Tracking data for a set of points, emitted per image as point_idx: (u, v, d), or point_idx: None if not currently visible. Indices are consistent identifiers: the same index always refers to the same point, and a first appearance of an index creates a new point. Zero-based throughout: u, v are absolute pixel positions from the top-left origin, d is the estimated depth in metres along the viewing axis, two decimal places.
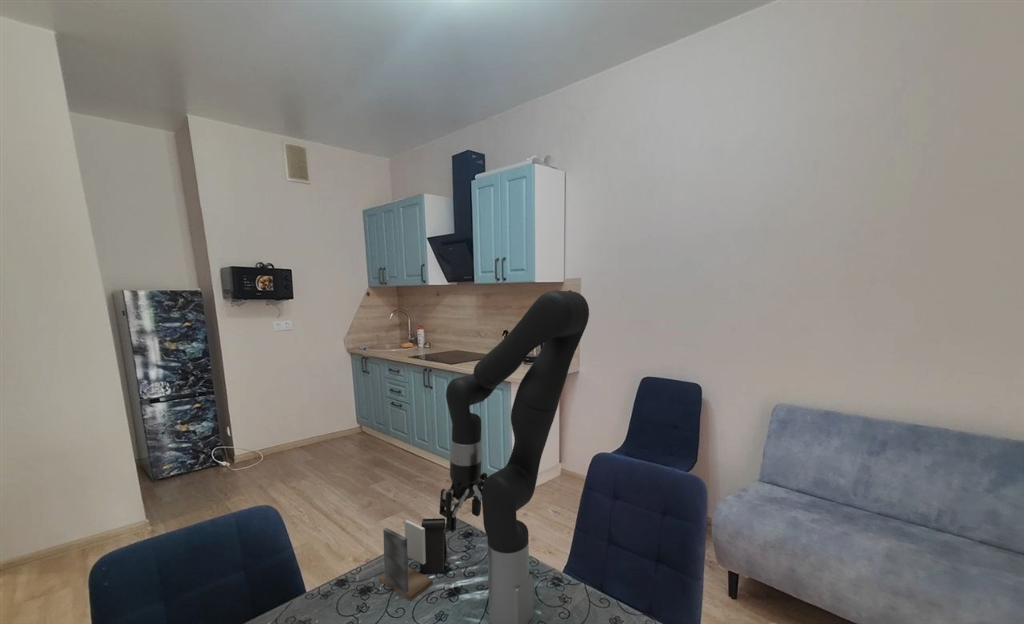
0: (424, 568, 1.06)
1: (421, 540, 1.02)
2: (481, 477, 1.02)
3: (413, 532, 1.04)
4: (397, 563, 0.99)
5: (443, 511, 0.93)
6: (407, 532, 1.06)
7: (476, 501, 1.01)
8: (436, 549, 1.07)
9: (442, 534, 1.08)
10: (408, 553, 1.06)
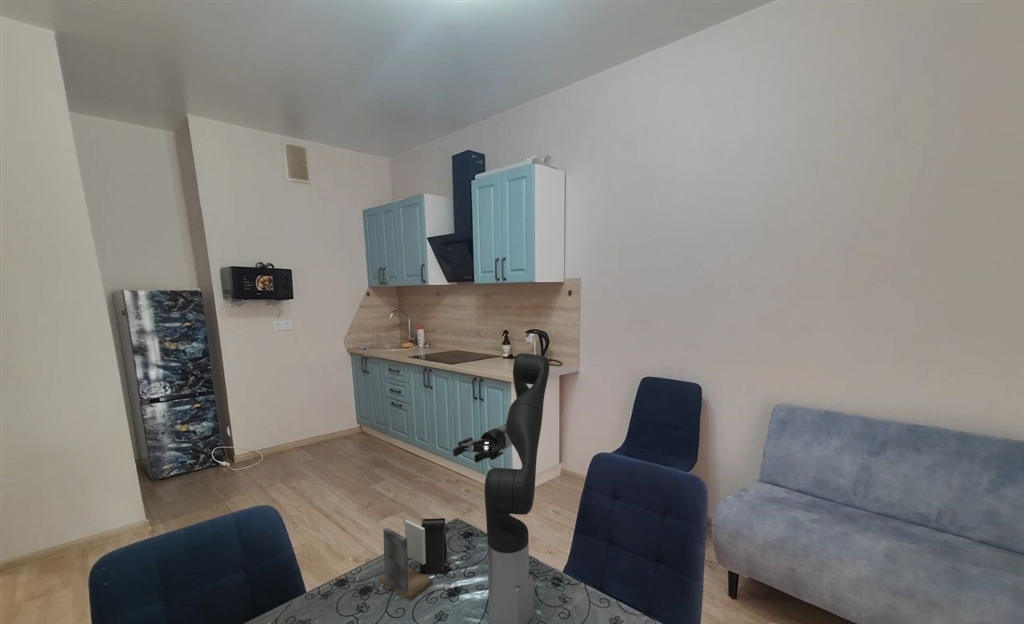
0: (424, 568, 1.06)
1: (421, 540, 1.02)
2: None
3: (413, 532, 1.04)
4: (397, 563, 0.99)
5: None
6: (407, 532, 1.06)
7: None
8: (436, 549, 1.07)
9: (442, 534, 1.08)
10: (408, 553, 1.06)
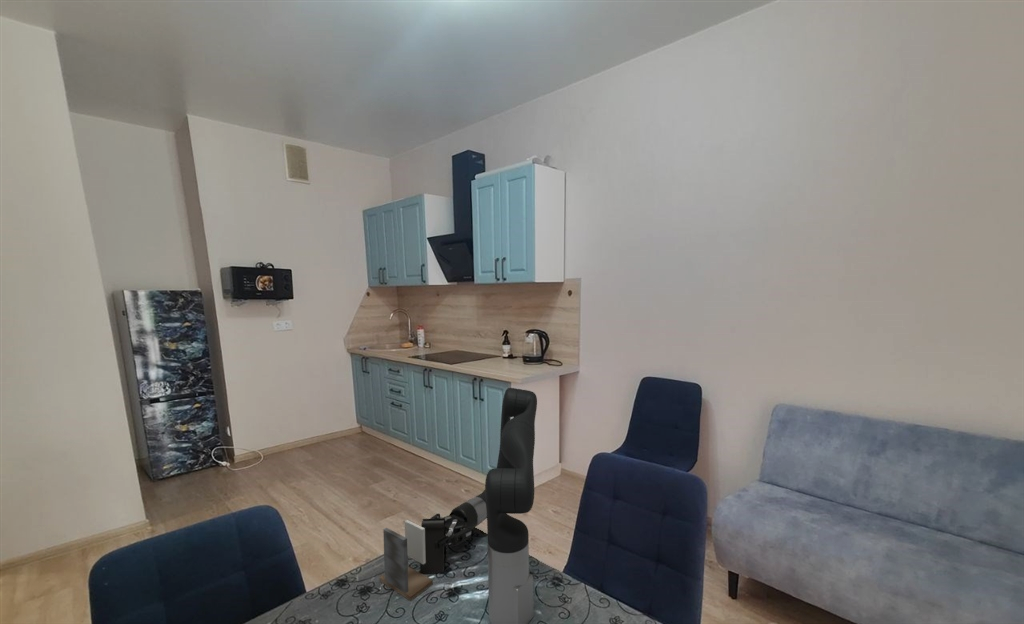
0: (424, 568, 1.06)
1: (421, 540, 1.02)
2: None
3: (413, 532, 1.04)
4: (397, 563, 0.99)
5: None
6: (407, 532, 1.06)
7: None
8: None
9: (442, 534, 1.08)
10: (408, 553, 1.06)
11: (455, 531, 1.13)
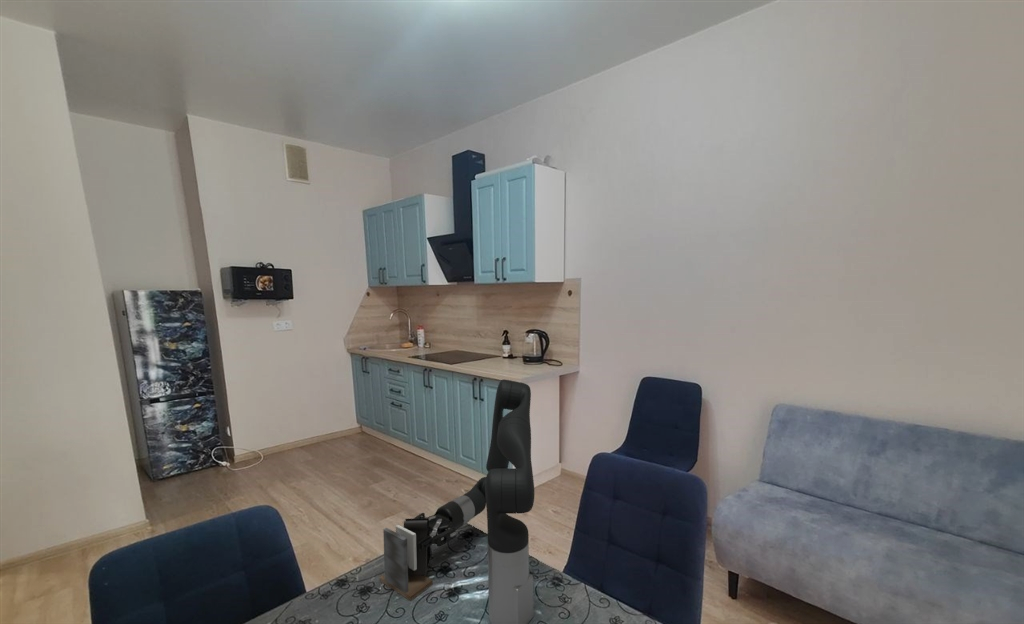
0: None
1: (412, 545, 1.00)
2: None
3: None
4: (397, 563, 0.99)
5: None
6: None
7: None
8: None
9: (425, 535, 1.04)
10: None
11: (439, 531, 1.08)
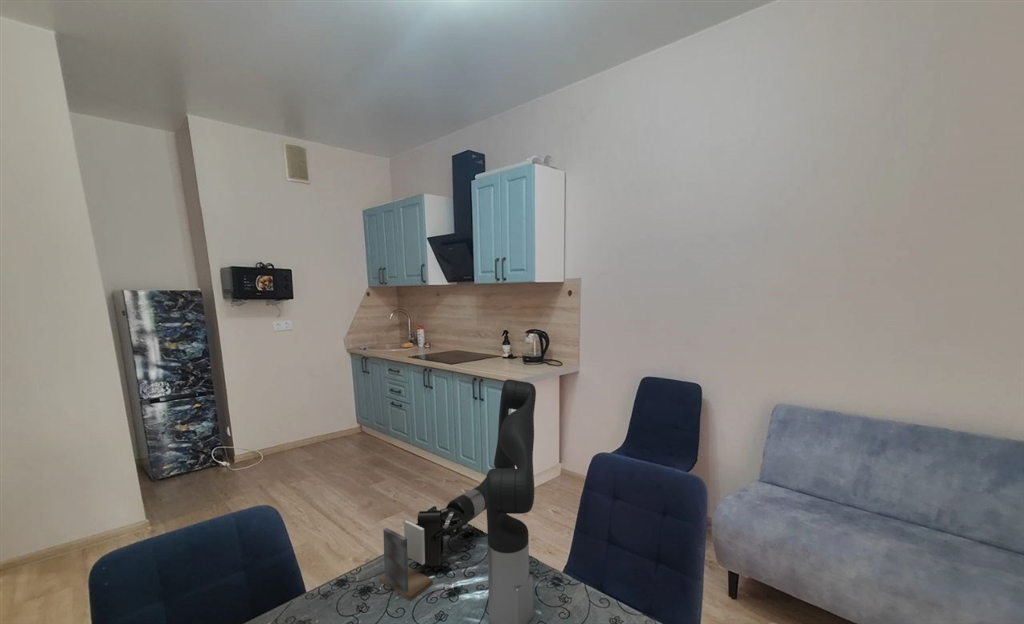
0: None
1: (421, 540, 1.02)
2: None
3: (412, 532, 1.04)
4: (397, 563, 0.99)
5: None
6: (407, 532, 1.05)
7: None
8: None
9: (438, 526, 1.07)
10: (407, 553, 1.06)
11: (452, 523, 1.12)
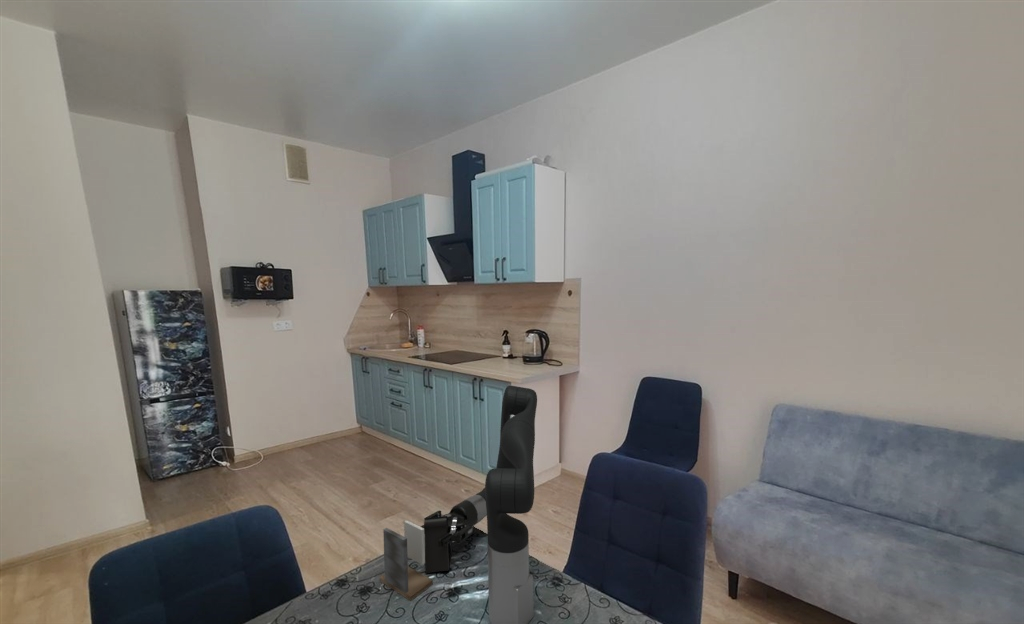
0: (429, 567, 1.06)
1: (421, 540, 1.02)
2: None
3: (412, 532, 1.04)
4: (397, 563, 0.99)
5: None
6: (407, 532, 1.05)
7: None
8: None
9: (445, 532, 1.09)
10: (407, 553, 1.06)
11: (456, 529, 1.13)
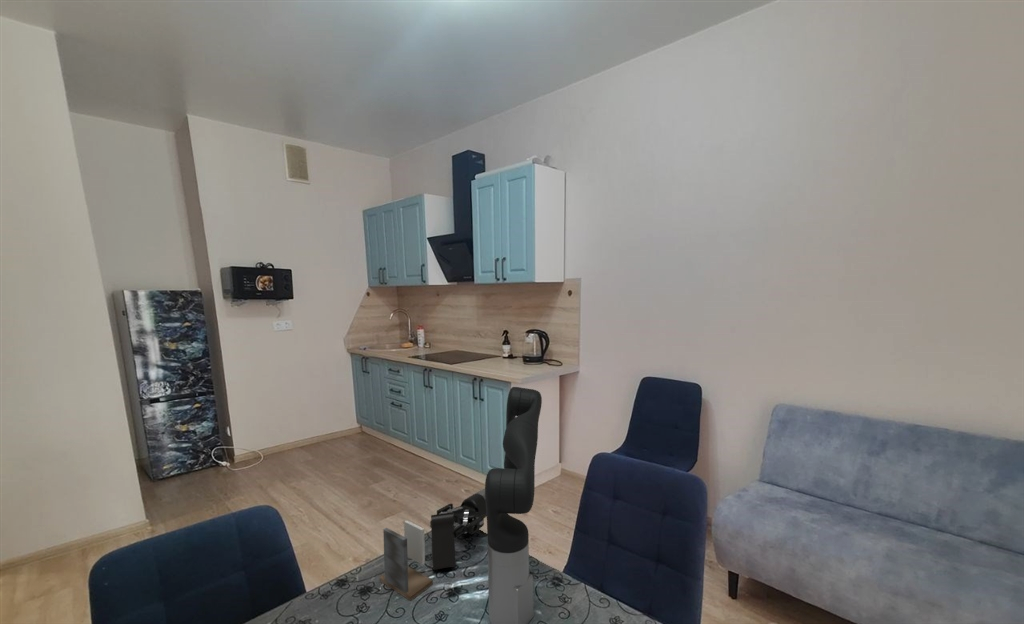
0: (437, 563, 1.06)
1: (421, 540, 1.02)
2: None
3: (412, 532, 1.04)
4: (397, 563, 0.99)
5: None
6: (407, 532, 1.05)
7: None
8: (447, 543, 1.08)
9: (452, 527, 1.10)
10: (407, 553, 1.06)
11: (468, 520, 1.17)
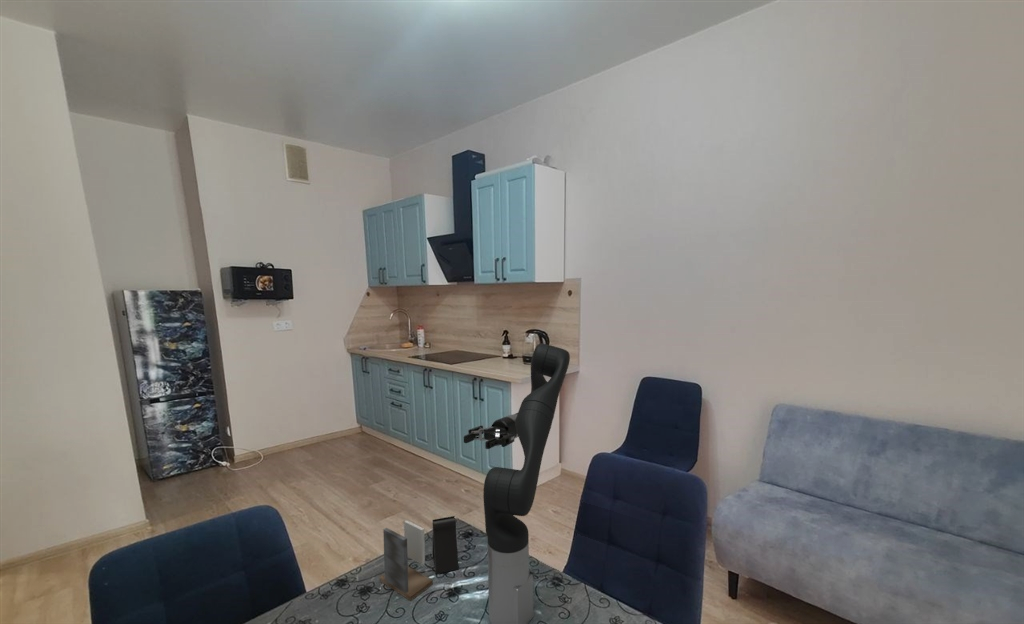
0: (440, 568, 1.06)
1: (421, 540, 1.02)
2: None
3: (412, 532, 1.04)
4: (397, 563, 0.99)
5: None
6: (407, 532, 1.05)
7: None
8: (450, 547, 1.08)
9: (454, 531, 1.09)
10: (407, 553, 1.06)
11: (499, 437, 1.22)
